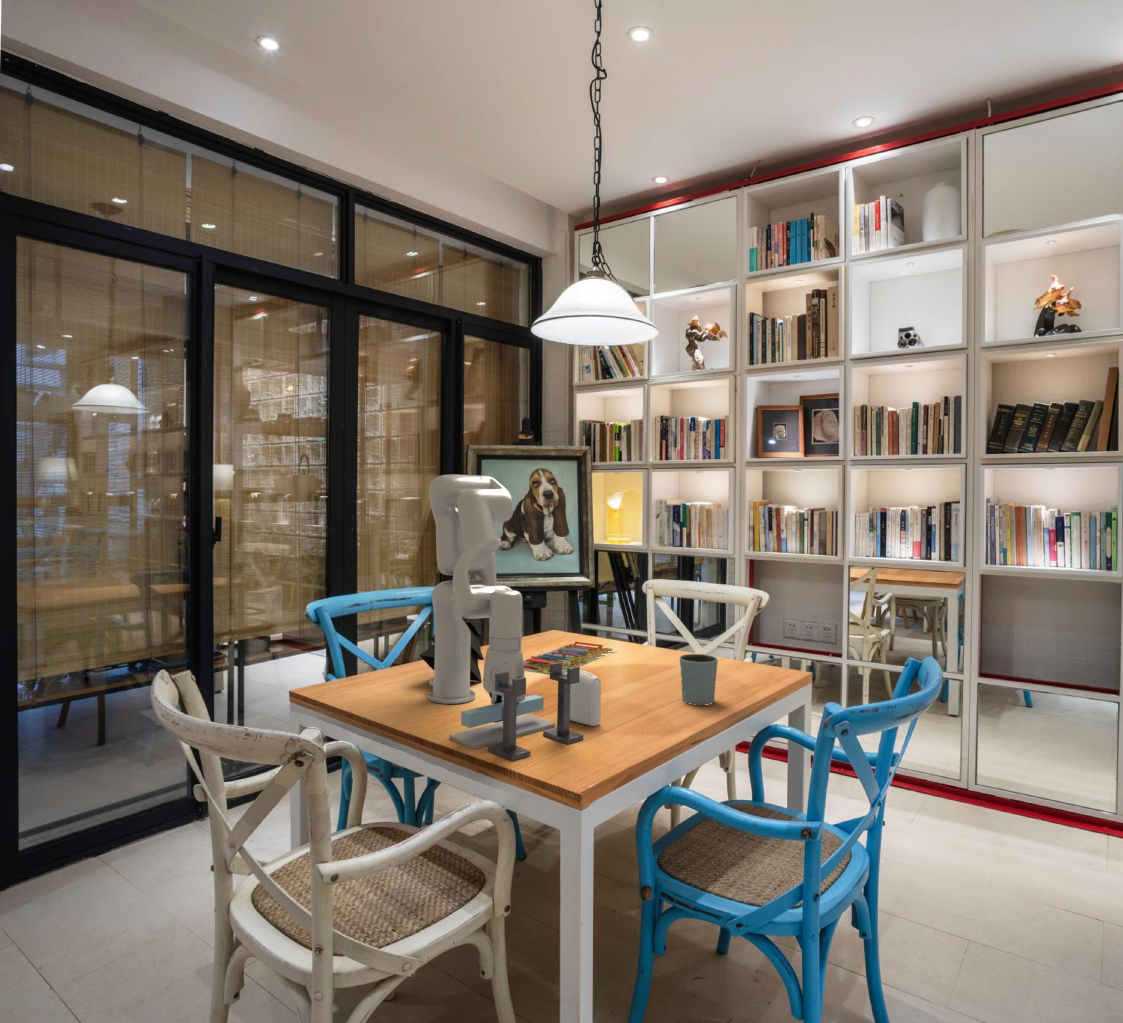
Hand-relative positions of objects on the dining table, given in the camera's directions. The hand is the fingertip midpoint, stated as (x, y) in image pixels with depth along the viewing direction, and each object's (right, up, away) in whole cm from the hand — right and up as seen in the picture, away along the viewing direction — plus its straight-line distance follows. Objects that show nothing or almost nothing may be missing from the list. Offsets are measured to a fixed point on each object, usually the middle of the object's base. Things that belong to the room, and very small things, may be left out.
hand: (503, 722), depth 171 cm
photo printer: (+18, -3, +10) cm, 21 cm away
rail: (0, +1, 0) cm, 1 cm away
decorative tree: (-17, -1, +49) cm, 52 cm away
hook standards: (+8, -3, -8) cm, 12 cm away
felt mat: (0, -2, 0) cm, 2 cm away
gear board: (+15, -2, +80) cm, 82 cm away
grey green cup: (+50, -3, +30) cm, 59 cm away
